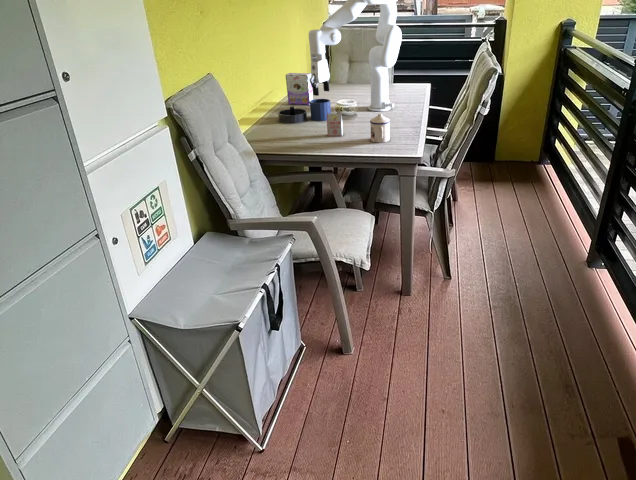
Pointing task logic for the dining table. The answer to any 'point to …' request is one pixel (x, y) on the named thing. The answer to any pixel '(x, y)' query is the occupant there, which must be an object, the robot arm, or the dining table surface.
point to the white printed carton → (334, 125)
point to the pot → (320, 109)
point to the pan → (292, 116)
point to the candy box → (299, 88)
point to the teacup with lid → (380, 129)
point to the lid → (292, 111)
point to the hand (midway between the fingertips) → (321, 93)
